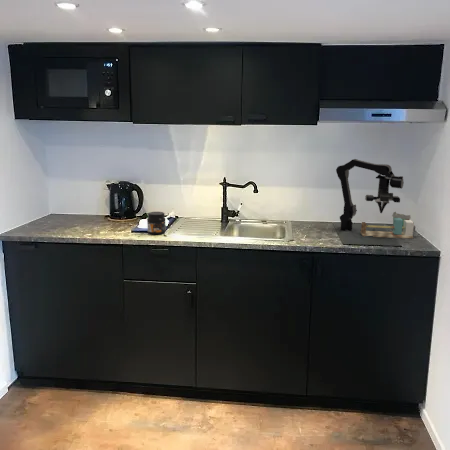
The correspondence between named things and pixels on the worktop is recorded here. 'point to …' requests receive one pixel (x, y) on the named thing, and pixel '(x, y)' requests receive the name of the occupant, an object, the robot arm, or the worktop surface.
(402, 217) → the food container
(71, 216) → the worktop surface
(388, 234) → the comb board
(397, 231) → the sleeve
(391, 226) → the fibre cord
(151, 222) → the supplement container
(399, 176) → the robot arm
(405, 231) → the connector block
